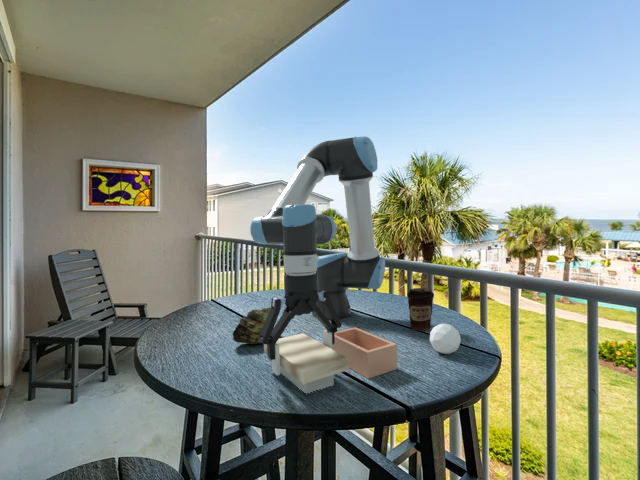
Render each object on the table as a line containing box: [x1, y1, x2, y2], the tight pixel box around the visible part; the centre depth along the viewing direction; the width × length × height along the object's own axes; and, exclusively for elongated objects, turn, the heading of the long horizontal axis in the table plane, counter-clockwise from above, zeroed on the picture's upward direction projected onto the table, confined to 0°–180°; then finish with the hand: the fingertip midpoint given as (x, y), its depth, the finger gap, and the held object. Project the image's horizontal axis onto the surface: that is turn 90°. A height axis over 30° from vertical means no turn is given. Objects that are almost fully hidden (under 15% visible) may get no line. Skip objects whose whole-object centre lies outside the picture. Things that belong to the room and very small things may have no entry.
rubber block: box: [280, 365, 335, 394], centre depth 77 cm, size 14×7×4 cm, turn 32°
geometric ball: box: [429, 323, 461, 355], centre depth 89 cm, size 8×8×8 cm
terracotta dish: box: [332, 327, 398, 380], centre depth 84 cm, size 16×9×6 cm, turn 32°
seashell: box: [232, 307, 271, 345], centre depth 101 cm, size 11×11×10 cm
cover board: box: [263, 332, 350, 384], centre depth 76 cm, size 20×11×2 cm, turn 32°
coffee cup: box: [407, 287, 435, 332], centre depth 108 cm, size 9×8×13 cm
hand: (303, 365), depth 76 cm, fingers open, 13 cm apart
